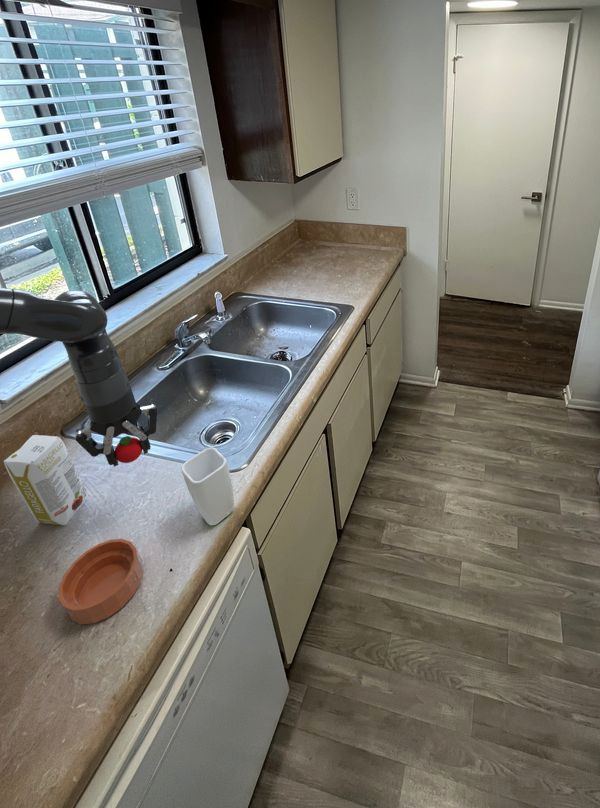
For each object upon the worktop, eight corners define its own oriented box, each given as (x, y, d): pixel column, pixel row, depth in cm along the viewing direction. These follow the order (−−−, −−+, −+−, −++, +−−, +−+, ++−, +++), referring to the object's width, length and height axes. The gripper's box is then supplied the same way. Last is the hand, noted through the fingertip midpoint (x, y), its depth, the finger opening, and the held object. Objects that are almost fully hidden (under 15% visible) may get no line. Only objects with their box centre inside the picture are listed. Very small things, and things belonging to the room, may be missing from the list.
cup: (194, 514, 95) (177, 466, 89) (224, 491, 100) (211, 444, 94) (210, 534, 91) (195, 486, 85) (242, 509, 96) (229, 462, 90)
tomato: (119, 472, 86) (111, 453, 84) (117, 456, 90) (110, 437, 87) (146, 461, 88) (140, 442, 86) (143, 445, 92) (137, 427, 90)
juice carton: (94, 494, 100) (66, 433, 92) (64, 530, 92) (30, 467, 84) (64, 491, 101) (33, 430, 92) (32, 527, 93) (-5, 464, 85)
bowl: (67, 642, 74) (57, 626, 72) (68, 578, 84) (59, 562, 82) (147, 597, 81) (140, 581, 78) (140, 542, 90) (133, 526, 88)
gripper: (147, 367, 88) (166, 430, 95) (60, 394, 81) (88, 461, 88) (152, 387, 82) (172, 452, 90) (59, 419, 75) (89, 487, 82)
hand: (130, 456), depth 89 cm, fingers closed on tomato, 4 cm apart
